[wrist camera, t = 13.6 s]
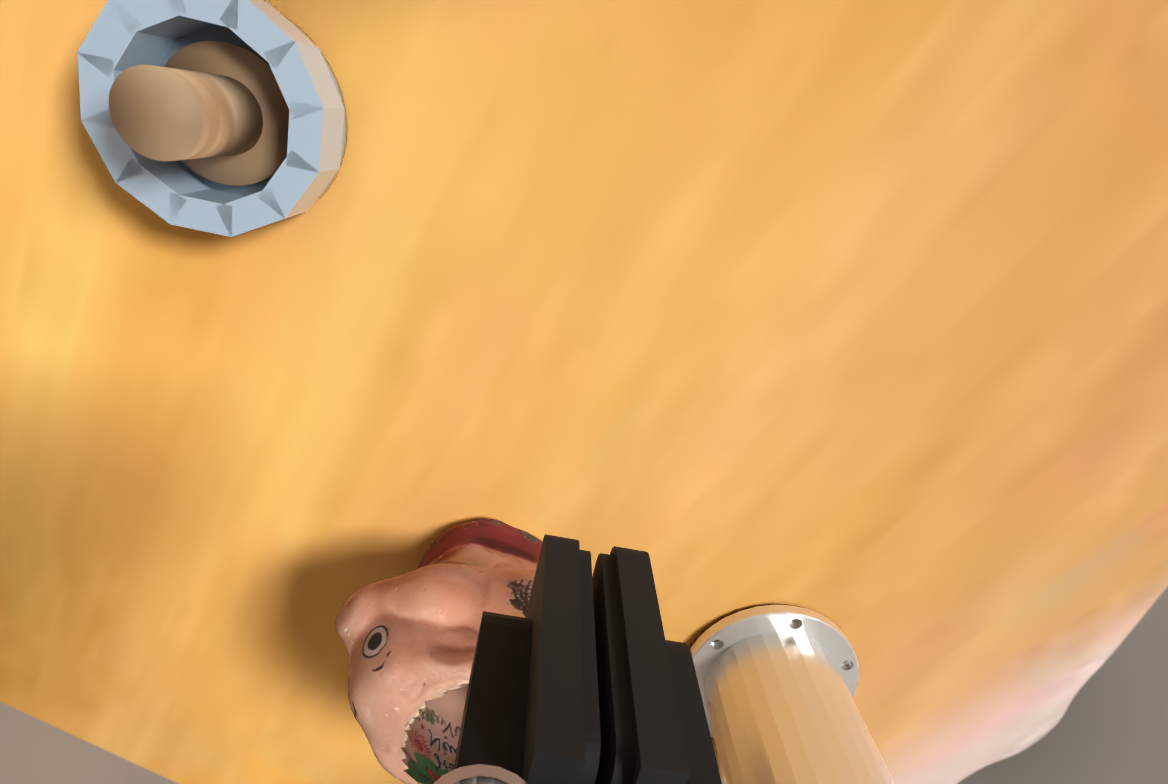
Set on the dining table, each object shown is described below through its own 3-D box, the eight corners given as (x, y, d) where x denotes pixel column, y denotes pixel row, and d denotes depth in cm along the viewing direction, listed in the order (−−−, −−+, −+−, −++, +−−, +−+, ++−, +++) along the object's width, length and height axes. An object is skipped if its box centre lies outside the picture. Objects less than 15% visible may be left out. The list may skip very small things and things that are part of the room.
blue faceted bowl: (338, 240, 37) (313, 254, 33) (134, 198, 36) (84, 206, 32) (356, 25, 33) (330, 13, 30) (129, -30, 32) (72, -50, 29)
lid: (298, 195, 35) (236, 212, 29) (169, 168, 35) (74, 179, 28) (306, 60, 33) (240, 45, 26) (168, 29, 32) (65, 4, 26)
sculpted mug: (690, 571, 46) (738, 747, 33) (606, 696, 50) (620, 897, 37) (411, 454, 42) (342, 601, 29) (345, 599, 46) (258, 785, 33)
